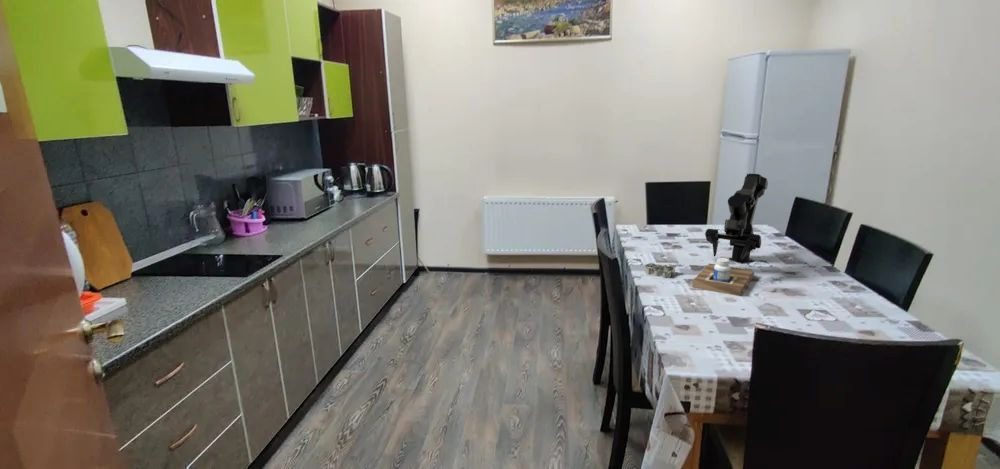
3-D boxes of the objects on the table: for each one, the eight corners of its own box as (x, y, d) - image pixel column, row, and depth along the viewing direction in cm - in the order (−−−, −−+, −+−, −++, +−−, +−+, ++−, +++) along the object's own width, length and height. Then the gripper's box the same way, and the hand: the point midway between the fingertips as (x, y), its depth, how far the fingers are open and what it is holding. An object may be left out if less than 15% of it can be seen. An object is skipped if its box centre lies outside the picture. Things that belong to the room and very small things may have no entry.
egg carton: (677, 275, 192) (678, 265, 190) (666, 280, 187) (667, 269, 186) (653, 268, 199) (653, 258, 198) (642, 273, 195) (642, 263, 194)
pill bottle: (712, 281, 183) (714, 256, 180) (728, 283, 181) (731, 257, 178) (712, 286, 178) (714, 261, 176) (728, 288, 176) (731, 262, 174)
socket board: (708, 269, 196) (709, 262, 195) (753, 276, 186) (754, 270, 186) (692, 287, 179) (692, 280, 178) (740, 296, 169) (741, 288, 169)
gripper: (708, 207, 188) (697, 243, 182) (763, 213, 177) (754, 251, 171) (712, 223, 196) (702, 257, 190) (764, 229, 185) (756, 266, 180)
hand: (727, 257), depth 183 cm, fingers open, 9 cm apart
